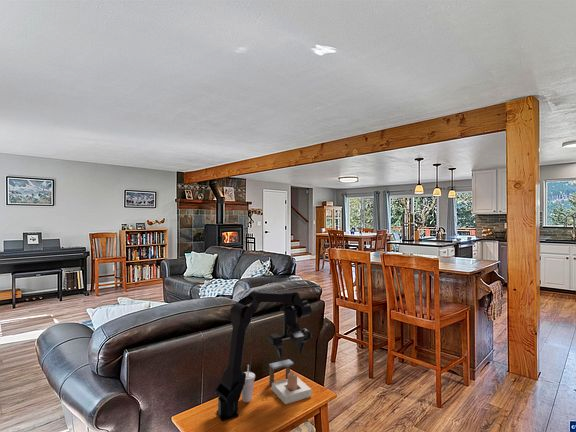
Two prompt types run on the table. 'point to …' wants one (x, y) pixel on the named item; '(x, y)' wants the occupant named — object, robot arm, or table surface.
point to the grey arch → (279, 365)
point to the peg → (292, 382)
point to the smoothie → (248, 386)
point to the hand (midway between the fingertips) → (289, 356)
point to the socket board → (292, 396)
